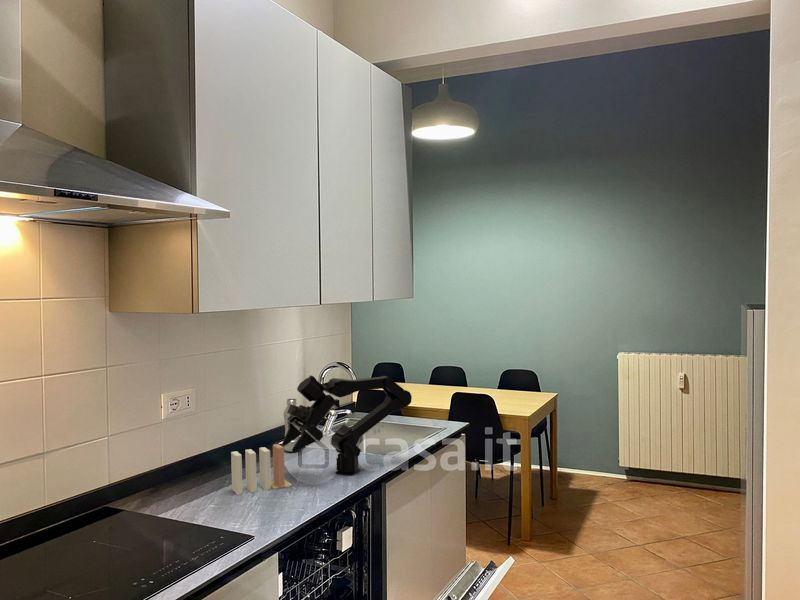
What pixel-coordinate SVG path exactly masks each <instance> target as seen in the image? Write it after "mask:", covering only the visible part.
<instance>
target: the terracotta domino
mask: <svg viewBox="0 0 800 600" xmlns="http://www.w3.org/2000/svg"><path fill="white" fill-rule="evenodd" d="M272 462H273V463H272V466H273V467H272V469H273V470H272V471H273V472H272V473H273V476H272V477H273V479H272V480H273V481H274V482H275V483H276V484H277V485H279V486H282V485H285V480H286V479H285V449H284V446H283V445H282V444H281V445H280V443H275V444H272ZM284 479H285V480H284Z"/></svg>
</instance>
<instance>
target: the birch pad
mask: <svg viewBox="0 0 800 600" xmlns="http://www.w3.org/2000/svg"><path fill="white" fill-rule="evenodd" d="M284 480H285V485H282V486H279V485H277V484H276V483H275V482H274V481H273V479H272V480H271V489H273V490H278V489H285V488H290V486H291V487H293V484H292V483H290V482H289V481H288V480H286V479H285V478H284ZM284 487H285V488H284Z"/></svg>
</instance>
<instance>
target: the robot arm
mask: <svg viewBox="0 0 800 600" xmlns="http://www.w3.org/2000/svg"><path fill="white" fill-rule="evenodd" d="M380 389H382V390H383V392H384V393H385V394H386V396H385V398H384V399H383V401H382V403H380V404H378V405H377V406H376V407H375V408H374V409H373V410H372V411H370V412H368V413H367V414H366V415H365V416H363V417H362V418H361V419H359V420H358V421H357V422H355V423H354V424H353V425H351V426H347V425H345V424H343V425H342V426H341V427H340V428H338V429H336V430H334V431H333V432H334V433H333V434H332V436H331V438H330V439H331V440H330V445H331V446H332V447H333V448H335V451H336V453H338V454H337V457H336V471H335V474H340V475H346V476H347V475H348V476H354V475H355V474H357V473H358V472H359V471H361V468H359V456H360V454H361V451H362V450H361V448H360V447H358V443H359V441H360V439H361V437H362V436H364V435H365V434H366V433H367V432H369V431H370V430H371V429H372V428H374V427H375V426H376V425H377V424H379V423H380V422H381V421H383V420H384V419H385V418H387V417H388V416H389V415H390V414H392V413H394V412H397V411H400V410H403V409H405V408H407V407H408V406H409V405H410V404H411V403H412V393H411V392H410V391H408V390H406V389H404V388H403V387H401V385H399V384H398V383H397V382H395V381H394V379H392V377H389V376H387V375H381V376H377V377H366V378H358V379H357V378H356V379H346V378H340V377H339V378H338V377H337V378H336V377H332V378H331V379H329V380H328V381H327V382H324V383H320V382H319V381H318V379H317V378H316V377H315V376H314V375H309V376H308V377H307V378H305V379H304V380H303V381H301V382H300V383H299V384H298V386H297V388H296V390H297V392H298V393H300V395H302V396H303V397H304V398H305V399H306V400H307V401H308V402H313V403H312V404H311V406H305V405H301V404H300V405H296V406H295V405H292V404H290V407H289V409H288V412H287V413H289V414H290V416H289V418H288V419H287V420H288V421H289V422H287V423H288V431H287V434H286V436H285V435H284V439H283V440H282V443H281V446H283V447H284V446H285V445H287V444H288V443H290V442H291V441H293V440H294V439H295V438H297V437H298V436H300V437H299V439H298V441H297V442H296V444H295V445H294V447H293V449H292V451H293V453H296V452H298V451H299V450H302V449H303V448H305V447H307V446H310V445H311V444H314V443H317V442H320V441H321V440H323V439H322V438H323V437H324V433H323V432H322V430H320V428H319V427H318V425H319V424H320V423H321V422H325V420H326V418H325V417H326V416H327V414H328V413H329V412H330V411H331V410H332V408H333V407H334V408H336V409H341V405H340V400H339V399H336V398H334V397H333V396H335V397H337V398H344V397H346V396H347V397H348V396H350V395H352V394H354V393H356V392H364V391H371V390H380ZM326 393H327V394H326Z"/></svg>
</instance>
